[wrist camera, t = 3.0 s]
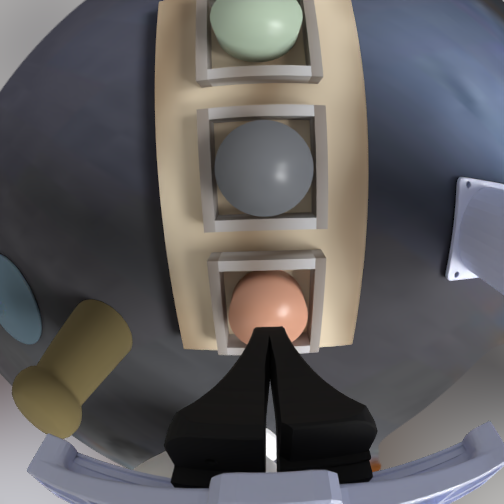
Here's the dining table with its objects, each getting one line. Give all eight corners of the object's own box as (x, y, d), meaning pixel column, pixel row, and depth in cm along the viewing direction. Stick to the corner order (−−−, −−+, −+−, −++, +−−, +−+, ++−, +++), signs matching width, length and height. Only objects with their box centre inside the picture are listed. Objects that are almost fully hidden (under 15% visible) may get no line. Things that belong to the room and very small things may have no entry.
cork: (63, 307, 20) (-12, 382, 10) (109, 291, 19) (24, 384, 9) (97, 360, 22) (42, 444, 11) (145, 353, 21) (92, 457, 11)
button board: (343, 4, 12) (355, -17, 9) (346, 332, 20) (357, 357, 17) (165, 11, 13) (151, -9, 10) (188, 337, 20) (179, 362, 17)
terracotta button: (304, 267, 16) (309, 281, 14) (301, 329, 18) (305, 347, 16) (229, 269, 16) (225, 283, 15) (234, 331, 18) (231, 349, 16)
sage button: (294, 1, 10) (298, -16, 9) (300, 62, 12) (306, 49, 10) (215, 4, 11) (210, -13, 9) (216, 65, 12) (210, 52, 10)
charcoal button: (305, 124, 13) (311, 119, 11) (307, 208, 14) (314, 215, 13) (218, 127, 13) (212, 123, 11) (223, 210, 15) (217, 218, 13)
